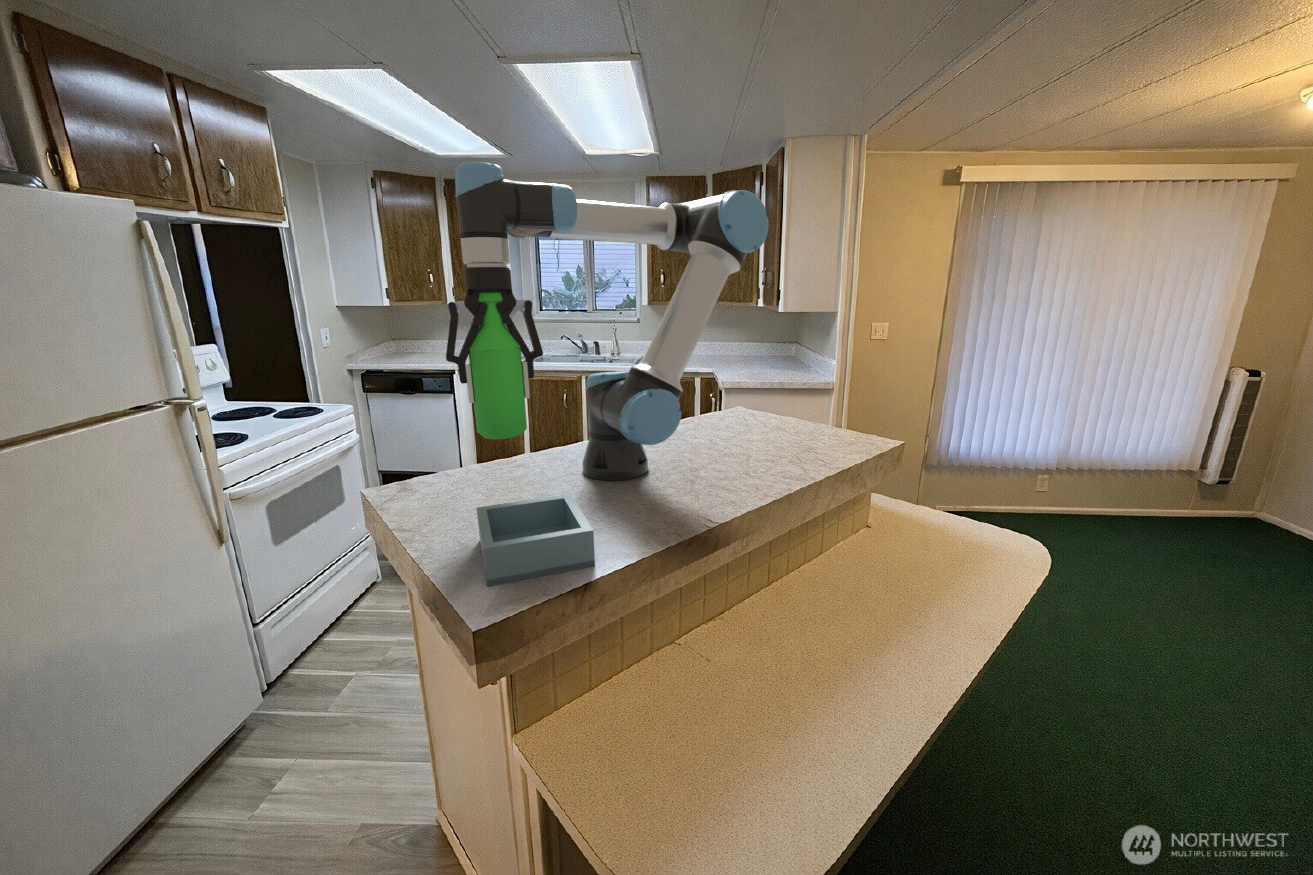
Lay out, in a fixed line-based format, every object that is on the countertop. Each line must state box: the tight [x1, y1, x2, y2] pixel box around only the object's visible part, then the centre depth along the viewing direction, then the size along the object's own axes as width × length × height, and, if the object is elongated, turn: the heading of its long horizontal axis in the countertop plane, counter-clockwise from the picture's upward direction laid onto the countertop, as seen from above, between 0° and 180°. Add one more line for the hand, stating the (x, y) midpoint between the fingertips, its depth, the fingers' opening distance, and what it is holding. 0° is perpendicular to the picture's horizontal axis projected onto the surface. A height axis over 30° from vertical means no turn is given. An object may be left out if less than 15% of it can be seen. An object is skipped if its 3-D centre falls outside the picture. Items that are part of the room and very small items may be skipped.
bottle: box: [468, 291, 528, 440], centre depth 96 cm, size 9×9×25 cm
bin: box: [475, 493, 596, 587], centre depth 88 cm, size 16×16×6 cm
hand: (499, 399), depth 97 cm, fingers closed on bottle, 9 cm apart
